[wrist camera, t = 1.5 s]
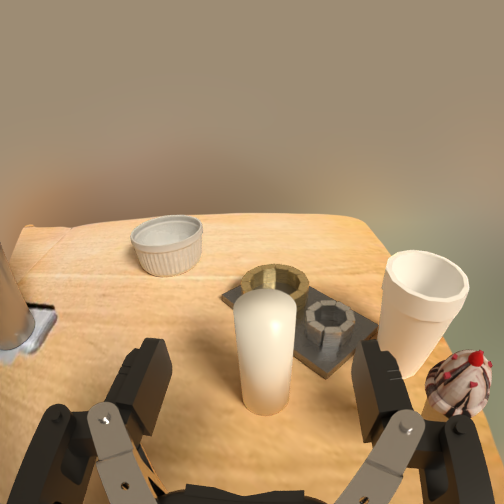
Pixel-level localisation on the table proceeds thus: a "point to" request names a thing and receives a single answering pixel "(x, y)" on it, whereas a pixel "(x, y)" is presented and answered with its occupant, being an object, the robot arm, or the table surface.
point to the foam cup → (418, 305)
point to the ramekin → (168, 244)
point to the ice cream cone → (457, 386)
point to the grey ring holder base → (311, 318)
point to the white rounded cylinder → (265, 348)
